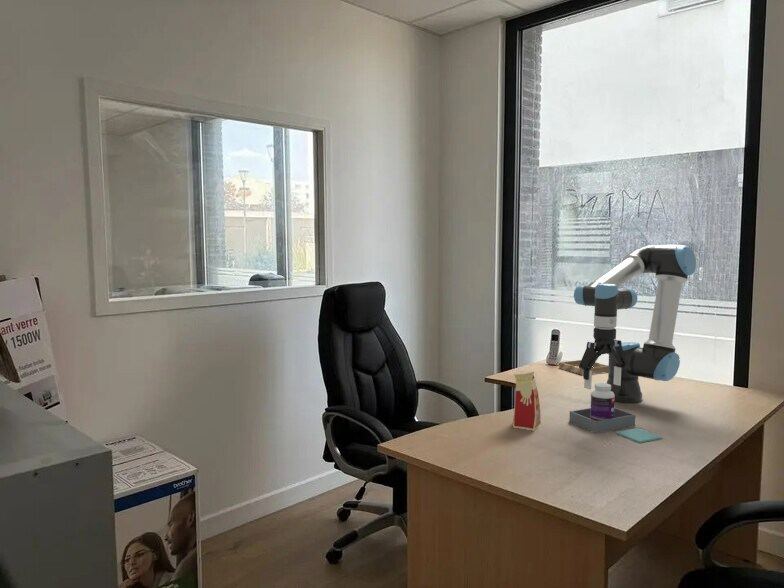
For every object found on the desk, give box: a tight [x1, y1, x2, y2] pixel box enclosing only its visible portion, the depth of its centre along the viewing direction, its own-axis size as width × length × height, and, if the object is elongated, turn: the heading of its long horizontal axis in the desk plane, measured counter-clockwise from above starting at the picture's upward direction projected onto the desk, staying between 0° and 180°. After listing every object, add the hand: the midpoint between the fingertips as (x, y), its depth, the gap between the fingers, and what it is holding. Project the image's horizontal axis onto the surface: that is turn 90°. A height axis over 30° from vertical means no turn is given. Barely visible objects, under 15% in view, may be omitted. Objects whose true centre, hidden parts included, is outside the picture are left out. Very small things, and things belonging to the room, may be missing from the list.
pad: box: [616, 427, 663, 444], centre depth 198 cm, size 10×10×1 cm
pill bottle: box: [590, 382, 616, 421], centre depth 210 cm, size 8×8×14 cm
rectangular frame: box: [568, 406, 636, 434], centre depth 211 cm, size 13×18×4 cm
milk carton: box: [512, 370, 542, 432], centre depth 209 cm, size 9×9×20 cm
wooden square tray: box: [558, 359, 609, 376], centre depth 293 cm, size 17×17×3 cm
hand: (602, 386), depth 209 cm, fingers open, 13 cm apart
